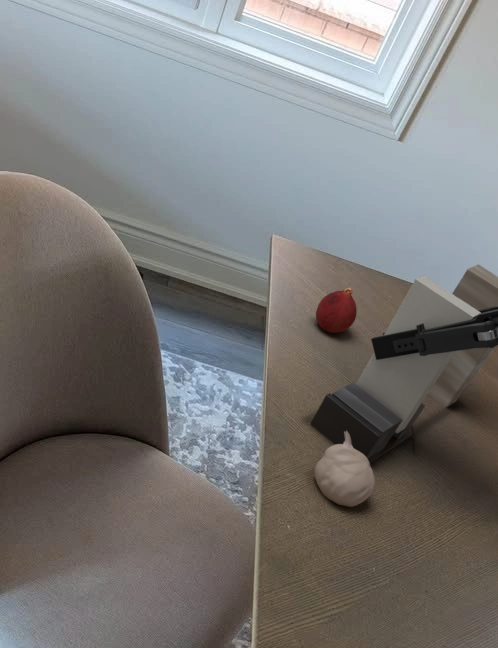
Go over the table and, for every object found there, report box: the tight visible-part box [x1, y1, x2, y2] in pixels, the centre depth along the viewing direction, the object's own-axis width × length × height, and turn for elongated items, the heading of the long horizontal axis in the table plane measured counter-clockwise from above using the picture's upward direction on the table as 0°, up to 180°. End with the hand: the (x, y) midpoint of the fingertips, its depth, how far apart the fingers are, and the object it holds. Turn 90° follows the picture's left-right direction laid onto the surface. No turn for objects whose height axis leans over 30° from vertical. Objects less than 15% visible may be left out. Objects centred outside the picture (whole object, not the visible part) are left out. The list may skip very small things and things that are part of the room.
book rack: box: [307, 264, 498, 464], centre depth 97 cm, size 26×9×19 cm, turn 133°
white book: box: [355, 275, 481, 433], centre depth 92 cm, size 2×8×18 cm, turn 43°
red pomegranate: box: [315, 287, 358, 334], centre depth 113 cm, size 6×6×8 cm
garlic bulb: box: [313, 431, 376, 508], centre depth 87 cm, size 7×6×8 cm
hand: (381, 345), depth 94 cm, fingers closed on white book, 2 cm apart
